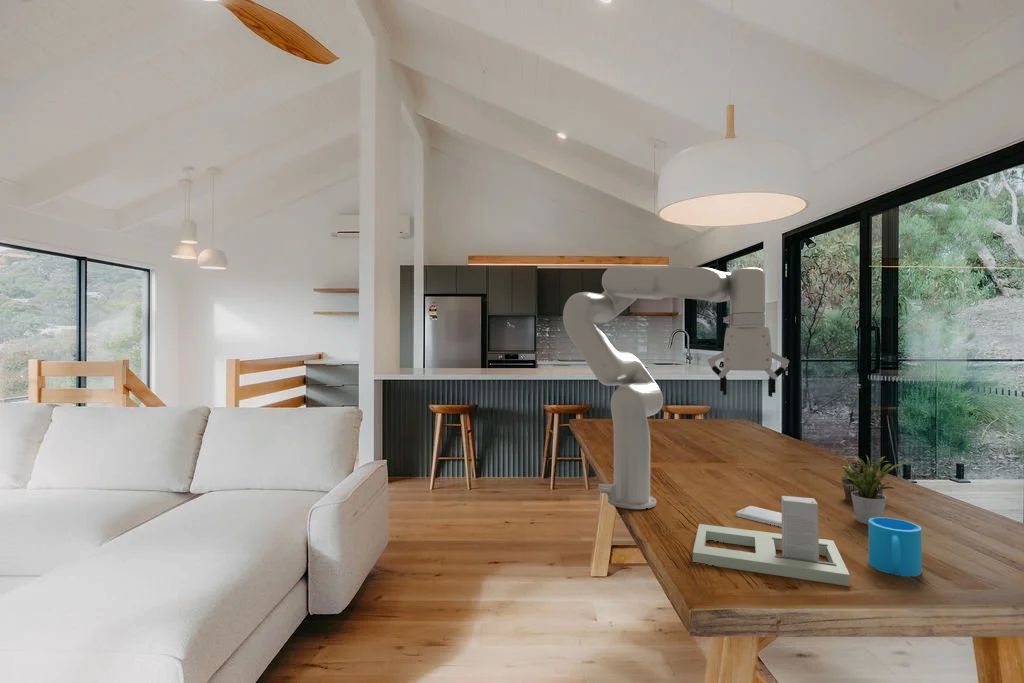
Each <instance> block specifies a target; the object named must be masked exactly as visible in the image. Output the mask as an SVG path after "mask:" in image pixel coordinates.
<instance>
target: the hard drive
mask: <svg viewBox="0 0 1024 683" xmlns="http://www.w3.org/2000/svg"><path fill="white" fill-rule="evenodd" d="M735 517H738V518H743V519H746V520H750V521H755V522H759V523H762V524H766V523H767V524H766V525H770V524H771V525H770V526H774V525H775V526H774V527H778V526H779V528H782V512H778V511H774V510H771V509H766V508H761V507H758V506H753V505H749V506H746V507H744V508H742V509H740V510H737V511H736V512H735Z"/></svg>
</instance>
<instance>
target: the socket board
mask: <svg viewBox="0 0 1024 683" xmlns="http://www.w3.org/2000/svg"><path fill="white" fill-rule="evenodd" d="M706 539H707V540H706ZM708 540H714V541H713V542H716V541H719V542H718V543H723V542H724V543H725V544H733V545H738V546H740V545H741V546H748V547H753V546H754V552H749V551H744V550H743V551H742V550H736V549H730V548H729V549H727V548H721V547H713V546H706V545H705V544H707V541H708ZM693 544H694V545H693V550H692V563H693V562H699V563H705V564H708V565H707V566H712V565H714V567H719V568H726V569H732V570H740V571H747V572H753V573H758V574H759V573H760V574H766V575H772V576H773V575H774V576H780V577H785V578H786V577H787V578H793V579H800V580H805V581H806V580H807V581H812V582H819V583H820V582H821V583H826V584H832V585H833V584H834V585H837V586H838V585H839V586H845V587H851V584H850V583H851V576H850V575H851V574H850V573H849V571H848V568H847V566H846V564H845V562H844V560H843V558H842V556H841V554H840V551H839V550H838V548H837V546H836V543H835V541H834V540H833V539H824V538H819V556H820V555H822V556H823V557H826V558H827V561H823V560H821V561H820V560H819V561H814V560H807V559H800V558H793V557H785V556H782V555H778V554H777V552H776V550H777V551H782V533H778V532H776V533H775V532H769V531H768V532H766V531H761V530H753V529H752V530H750V529H743V528H735V527H729V526H719V525H711V524H702V523H698V527H697V532H696V535H695V540H694V543H693ZM699 563H698V564H699ZM705 564H704V565H705Z"/></svg>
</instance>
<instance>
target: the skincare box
mask: <svg viewBox="0 0 1024 683" xmlns="http://www.w3.org/2000/svg"><path fill="white" fill-rule="evenodd" d="M780 498H781V499H780V500H781V501H780V502H781V504H780V505H781V513H782V527H781V534H782V550H781V554H782V555H781V556H785V557H793V558H800V559H807V560H814V561H820V555H819V539H820V535H819V533H820V532H819V531H820V530H819V503H818V501H816V499H815V498H814V497H800V496H787V495H781V497H780Z"/></svg>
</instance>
